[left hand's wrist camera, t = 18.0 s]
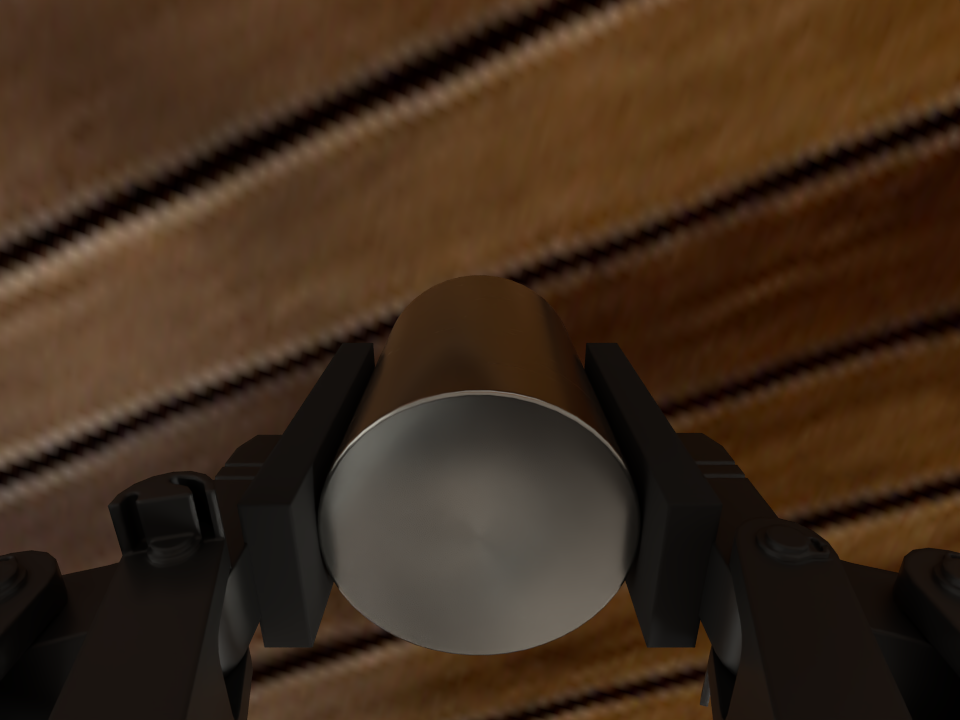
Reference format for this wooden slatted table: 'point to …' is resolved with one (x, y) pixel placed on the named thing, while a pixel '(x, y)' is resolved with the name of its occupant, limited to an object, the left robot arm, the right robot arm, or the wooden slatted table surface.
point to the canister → (479, 479)
